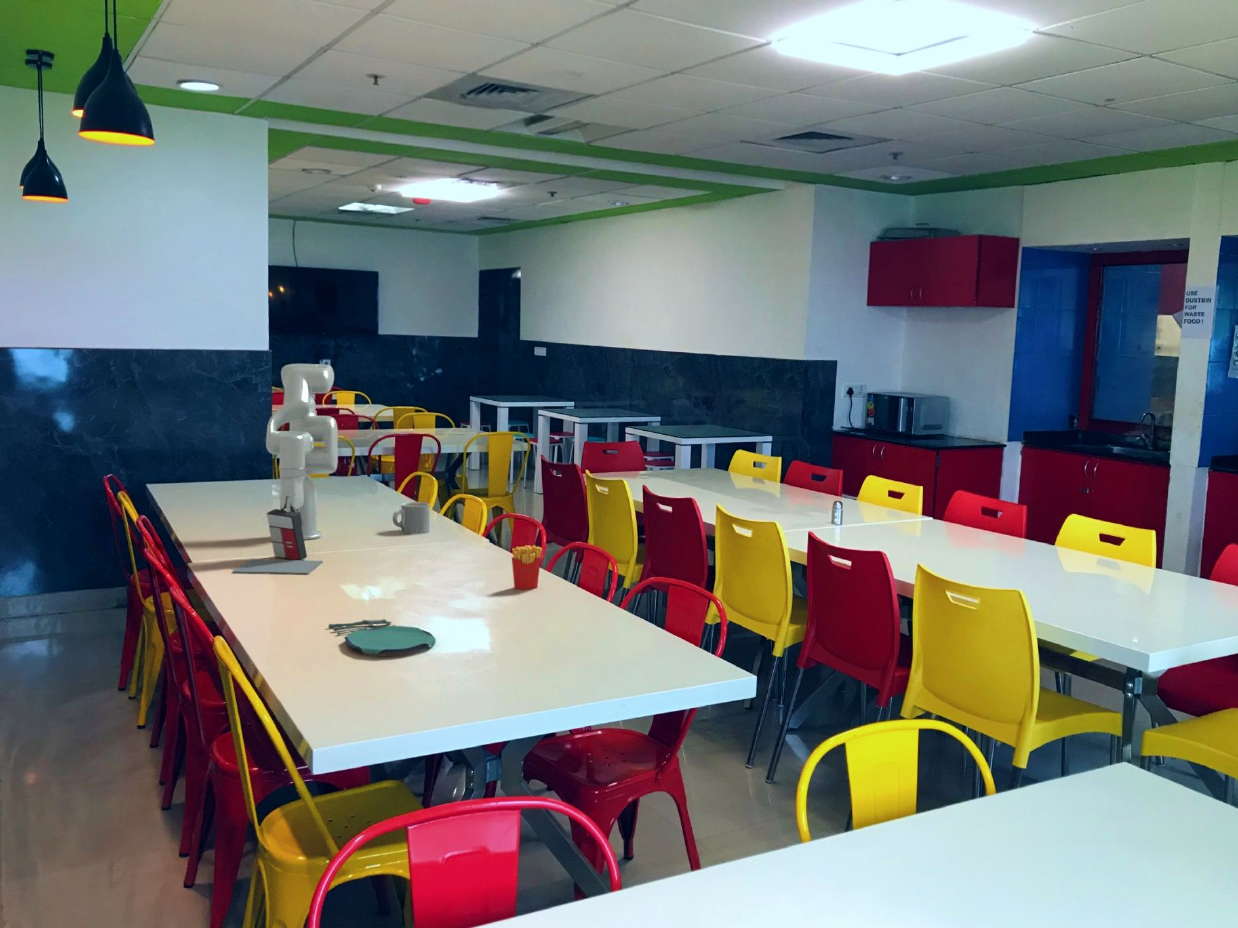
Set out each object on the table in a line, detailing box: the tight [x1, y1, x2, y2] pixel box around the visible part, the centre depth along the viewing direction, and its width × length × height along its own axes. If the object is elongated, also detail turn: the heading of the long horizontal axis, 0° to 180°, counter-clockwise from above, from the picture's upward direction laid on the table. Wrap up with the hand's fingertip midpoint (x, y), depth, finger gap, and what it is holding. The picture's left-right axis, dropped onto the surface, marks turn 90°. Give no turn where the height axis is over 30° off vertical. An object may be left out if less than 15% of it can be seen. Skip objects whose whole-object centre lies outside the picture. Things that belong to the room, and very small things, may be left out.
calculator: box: [266, 508, 308, 560], centre depth 315 cm, size 11×4×15 cm, turn 62°
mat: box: [232, 558, 323, 575], centre depth 305 cm, size 16×22×1 cm
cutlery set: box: [328, 618, 437, 656], centre depth 238 cm, size 20×30×2 cm, turn 34°
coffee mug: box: [392, 501, 430, 534], centre depth 364 cm, size 13×10×10 cm
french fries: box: [511, 544, 543, 591], centre depth 288 cm, size 8×4×12 cm, turn 111°
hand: (293, 530), depth 319 cm, fingers closed
